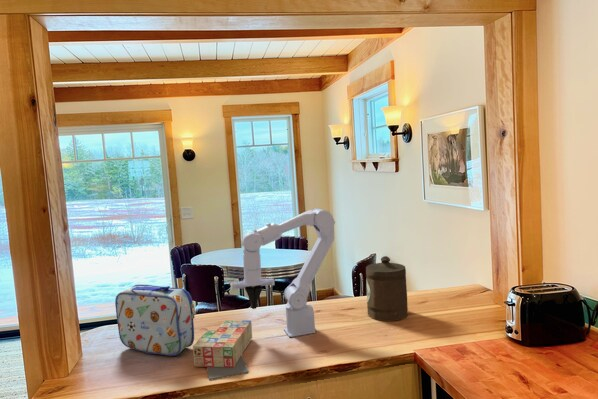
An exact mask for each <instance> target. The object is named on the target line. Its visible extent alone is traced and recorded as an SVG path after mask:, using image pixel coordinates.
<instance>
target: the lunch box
mask: <svg viewBox="0 0 598 399" xmlns="http://www.w3.org/2000/svg"><path fill="white" fill-rule="evenodd" d="M114 302H115V303H114V305H115V314H116V322H117V323H116V324H117V329H118V336H119V340H120V342H121V343H122V344H123V345H124V346H125V347H127V348H130V349H132V350H135V351H140V352H142V353H146V354H148V355H149V354H150V355H151V354H153V355H154V354H155V355H161V356H171V357H172V356H173V357H175V356H177V355H180V354H181V353H182V352H183V351H184V350H185V349H186V348H189V347H191V346H192V345H193V344H194V340H195V325H194V320H195V316H196V315H197V311H196V309H195V306H194V303H193V297H192V295H191V294H190V292H189V291H187V290H186V289H185V288H180V287H171V286H170V285H168V286H161V285H160V286H159V285H151V284H150V285H149V284H135V285H133V286H131V287H130V288H128V289H126V290H123V291H120V292H119V293H117V295H116V296H115V301H114Z"/></svg>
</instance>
